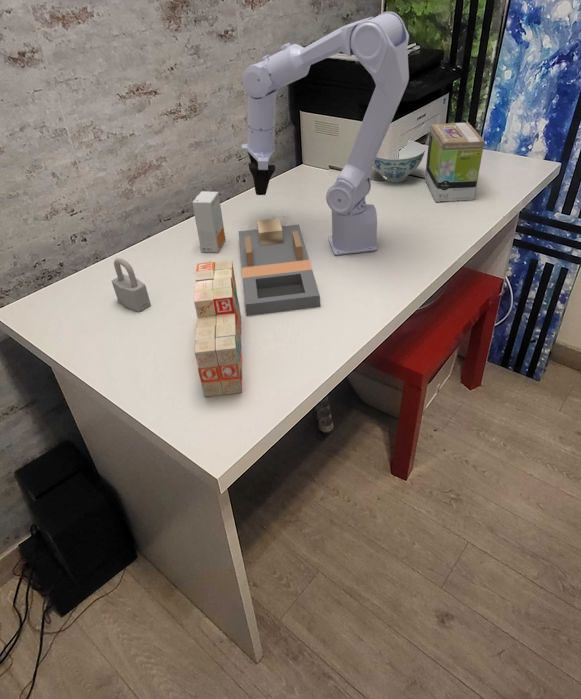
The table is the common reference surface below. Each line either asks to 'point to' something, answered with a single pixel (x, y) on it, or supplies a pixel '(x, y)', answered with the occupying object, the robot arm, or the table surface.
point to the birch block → (270, 231)
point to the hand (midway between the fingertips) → (259, 186)
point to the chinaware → (401, 162)
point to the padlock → (129, 287)
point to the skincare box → (209, 221)
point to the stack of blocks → (218, 329)
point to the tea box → (453, 161)
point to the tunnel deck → (277, 273)
